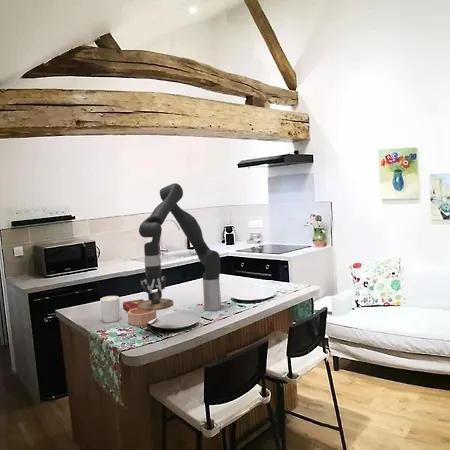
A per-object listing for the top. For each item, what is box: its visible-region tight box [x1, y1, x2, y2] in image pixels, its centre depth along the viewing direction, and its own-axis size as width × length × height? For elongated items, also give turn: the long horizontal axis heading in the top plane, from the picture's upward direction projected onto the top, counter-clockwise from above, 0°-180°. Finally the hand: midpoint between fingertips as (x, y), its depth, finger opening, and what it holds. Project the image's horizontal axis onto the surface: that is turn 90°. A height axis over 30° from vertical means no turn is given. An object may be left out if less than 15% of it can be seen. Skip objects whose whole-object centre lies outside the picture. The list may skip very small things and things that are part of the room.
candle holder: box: [99, 295, 120, 324], centre depth 235 cm, size 10×10×12 cm
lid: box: [138, 291, 174, 311], centre depth 213 cm, size 17×17×6 cm
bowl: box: [127, 308, 157, 327], centre depth 230 cm, size 14×14×6 cm
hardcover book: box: [122, 298, 145, 313], centre depth 253 cm, size 12×21×4 cm, turn 27°
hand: (155, 299), depth 213 cm, fingers closed on lid, 4 cm apart
